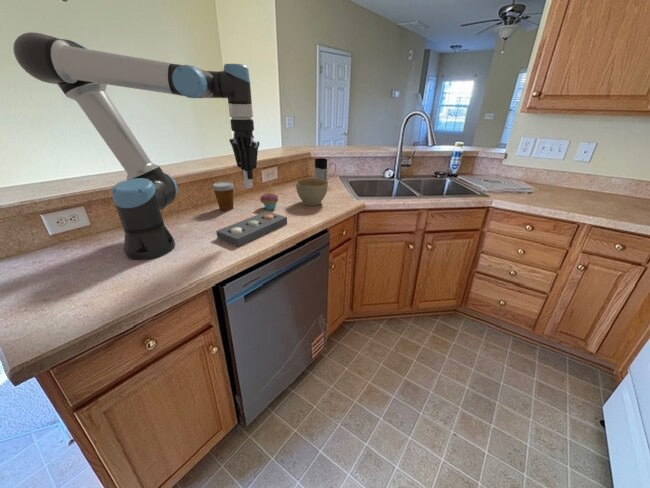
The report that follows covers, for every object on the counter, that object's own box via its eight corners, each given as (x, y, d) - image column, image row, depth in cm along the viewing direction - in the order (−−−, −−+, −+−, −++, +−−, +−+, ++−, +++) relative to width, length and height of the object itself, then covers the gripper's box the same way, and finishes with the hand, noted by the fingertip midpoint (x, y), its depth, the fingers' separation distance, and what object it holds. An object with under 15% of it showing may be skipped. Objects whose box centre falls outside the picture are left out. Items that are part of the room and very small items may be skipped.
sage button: (254, 233, 111) (253, 225, 110) (247, 230, 114) (246, 222, 112) (261, 229, 114) (260, 221, 113) (254, 227, 116) (253, 219, 115)
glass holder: (317, 181, 183) (317, 157, 176) (338, 184, 178) (338, 159, 171) (311, 184, 176) (311, 160, 169) (332, 187, 171) (333, 162, 164)
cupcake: (282, 207, 138) (281, 183, 133) (268, 212, 133) (266, 187, 127) (271, 203, 143) (269, 180, 138) (257, 207, 138) (254, 183, 132)
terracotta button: (269, 226, 118) (268, 218, 116) (262, 224, 120) (261, 216, 118) (276, 223, 121) (275, 215, 119) (269, 221, 123) (268, 213, 121)
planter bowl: (302, 210, 136) (302, 187, 131) (292, 200, 149) (291, 179, 144) (333, 205, 142) (333, 184, 137) (320, 196, 155) (320, 176, 150)
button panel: (238, 246, 101) (237, 239, 100) (217, 238, 107) (216, 230, 106) (287, 223, 121) (286, 217, 119) (267, 217, 127) (266, 211, 125)
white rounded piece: (236, 241, 105) (235, 232, 104) (229, 238, 107) (228, 229, 106) (245, 237, 108) (244, 228, 107) (238, 234, 110) (236, 226, 109)
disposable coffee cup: (230, 212, 132) (227, 187, 126) (212, 211, 133) (207, 186, 128) (240, 206, 140) (237, 182, 134) (222, 204, 142) (218, 180, 136)
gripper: (263, 118, 95) (268, 188, 105) (237, 117, 101) (244, 182, 112) (246, 119, 89) (253, 192, 100) (219, 117, 96) (229, 186, 106)
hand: (248, 187), depth 106 cm, fingers closed
